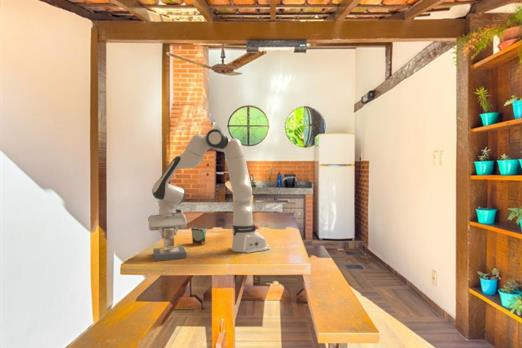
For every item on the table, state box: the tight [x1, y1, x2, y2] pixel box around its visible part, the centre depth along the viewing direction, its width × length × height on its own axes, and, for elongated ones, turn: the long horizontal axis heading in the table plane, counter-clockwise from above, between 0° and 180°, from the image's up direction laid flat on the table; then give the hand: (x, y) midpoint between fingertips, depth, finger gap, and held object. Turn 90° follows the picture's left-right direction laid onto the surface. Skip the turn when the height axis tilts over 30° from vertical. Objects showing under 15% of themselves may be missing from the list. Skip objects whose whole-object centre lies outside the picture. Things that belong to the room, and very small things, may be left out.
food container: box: [190, 226, 208, 246], centre depth 214 cm, size 12×6×10 cm, turn 47°
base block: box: [152, 245, 187, 262], centre depth 184 cm, size 16×16×3 cm
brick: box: [163, 228, 175, 248], centre depth 184 cm, size 5×5×9 cm
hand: (168, 235), depth 183 cm, fingers closed on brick, 5 cm apart
